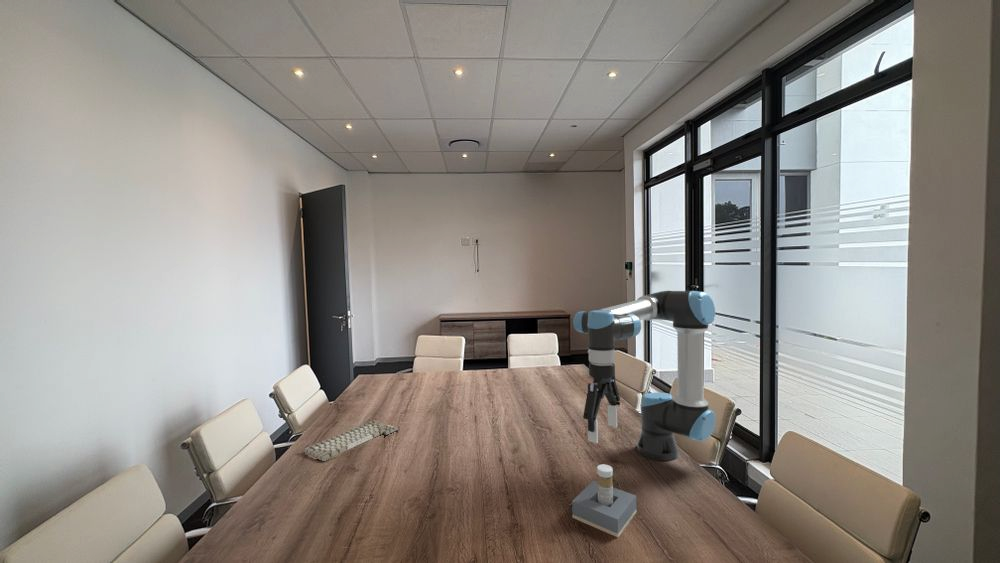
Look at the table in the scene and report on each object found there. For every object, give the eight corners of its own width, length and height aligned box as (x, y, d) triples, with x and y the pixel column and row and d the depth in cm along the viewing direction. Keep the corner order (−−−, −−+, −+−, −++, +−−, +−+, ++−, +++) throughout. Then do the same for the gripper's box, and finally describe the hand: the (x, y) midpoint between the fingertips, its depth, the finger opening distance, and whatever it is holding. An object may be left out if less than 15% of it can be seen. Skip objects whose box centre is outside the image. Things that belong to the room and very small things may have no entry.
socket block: (593, 495, 123) (593, 480, 123) (636, 512, 114) (636, 495, 114) (572, 517, 112) (572, 501, 112) (618, 537, 104) (617, 519, 103)
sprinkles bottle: (602, 505, 116) (601, 462, 116) (616, 511, 113) (615, 467, 113) (594, 512, 113) (594, 467, 113) (609, 519, 110) (608, 473, 110)
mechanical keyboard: (326, 467, 148) (326, 458, 148) (300, 455, 158) (299, 447, 158) (400, 432, 179) (400, 425, 179) (374, 424, 190) (374, 418, 190)
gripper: (607, 353, 125) (608, 417, 125) (569, 369, 105) (571, 445, 106) (629, 356, 120) (631, 422, 120) (594, 373, 101) (596, 453, 101)
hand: (603, 433), depth 113 cm, fingers open, 13 cm apart
